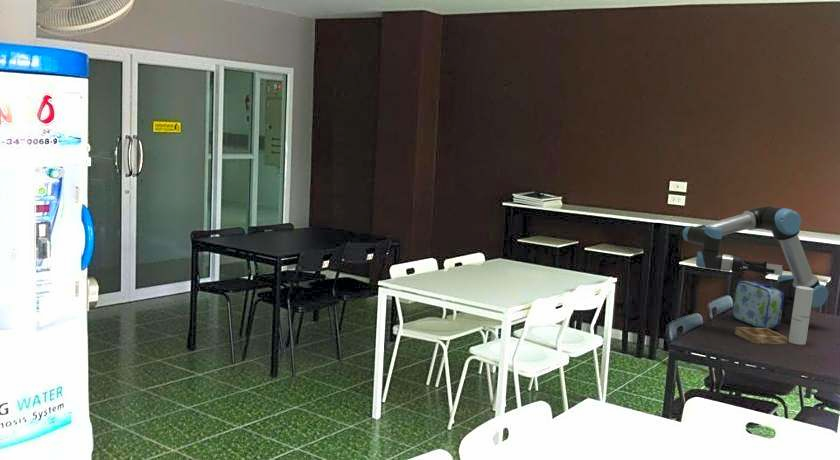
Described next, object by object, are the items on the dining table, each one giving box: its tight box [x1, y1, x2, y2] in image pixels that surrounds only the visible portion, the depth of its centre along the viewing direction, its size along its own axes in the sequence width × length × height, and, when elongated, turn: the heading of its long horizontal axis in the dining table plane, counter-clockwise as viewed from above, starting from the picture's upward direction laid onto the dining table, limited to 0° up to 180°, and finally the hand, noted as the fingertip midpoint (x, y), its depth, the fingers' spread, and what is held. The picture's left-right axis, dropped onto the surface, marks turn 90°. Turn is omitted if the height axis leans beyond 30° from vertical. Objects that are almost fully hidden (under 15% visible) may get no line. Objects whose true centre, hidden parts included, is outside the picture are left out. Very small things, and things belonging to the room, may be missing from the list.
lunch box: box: [732, 280, 784, 330], centre depth 397 cm, size 26×11×21 cm, turn 16°
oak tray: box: [734, 326, 788, 346], centre depth 368 cm, size 16×16×3 cm
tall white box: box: [787, 286, 814, 346], centre depth 365 cm, size 7×7×25 cm
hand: (782, 270), depth 366 cm, fingers open, 13 cm apart
